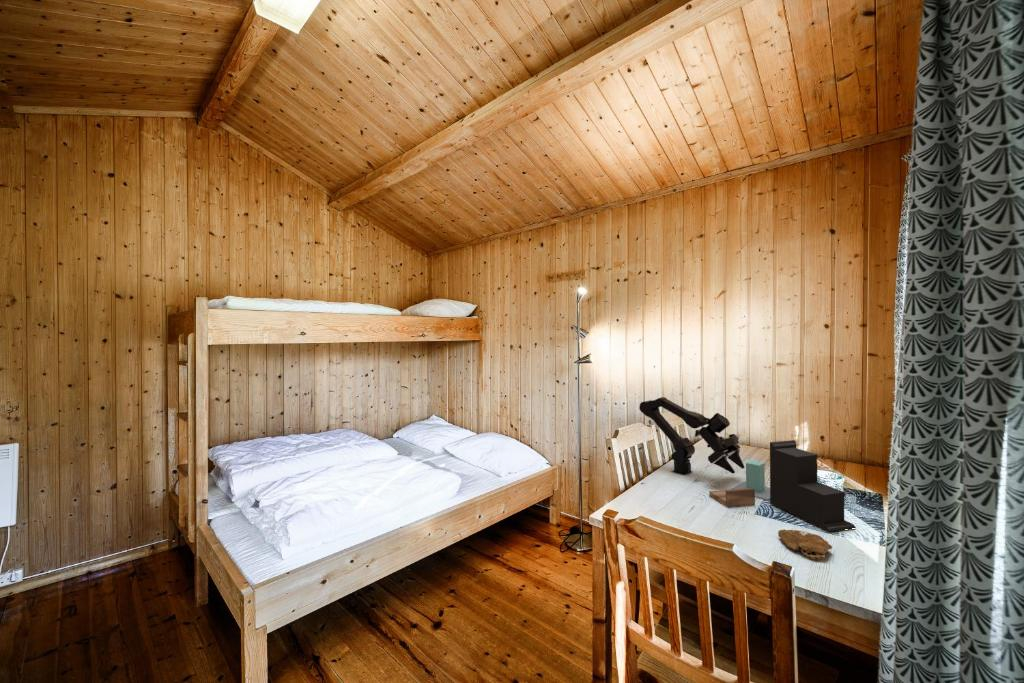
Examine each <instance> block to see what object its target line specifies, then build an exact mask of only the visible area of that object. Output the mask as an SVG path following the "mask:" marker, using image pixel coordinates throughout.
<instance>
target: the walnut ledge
mask: <svg viewBox="0 0 1024 683" xmlns="http://www.w3.org/2000/svg"><path fill="white" fill-rule="evenodd" d="M709 498H711V499H713V500H715V501H716V502H718V503H720V504H722V505H723V506H725V507H726V508H739V507H747V506H748V507H749V506H750V505H751V506H756V497H755V489H754V488H746V489H732V488H730V489H722V490H710V491H709ZM751 506H750V507H751Z"/></svg>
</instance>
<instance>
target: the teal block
mask: <svg viewBox="0 0 1024 683" xmlns="http://www.w3.org/2000/svg"><path fill="white" fill-rule="evenodd" d="M765 475H766V474H765V462H762V461H761V462H760V461H757V460H751V459H750V460H749V461H747V462H745V482H746V488H754V489H755V492H757V493H761V492H763V491H764V490H765V486H766V480H765V479H766V478H765V477H766V476H765Z"/></svg>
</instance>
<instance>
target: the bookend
mask: <svg viewBox="0 0 1024 683" xmlns="http://www.w3.org/2000/svg"><path fill="white" fill-rule="evenodd" d="M818 458H819V455H818V454H816V453H813V452H810V451H807V450H803V449H801V448H797V441H796V440H793V439H790V440H779V441H778V440H777V441H770V442H769V487H770V500H769V504H770V505H772V506H775V507H776V508H779V509H781V510H783V511H784V512H786V511H787V513H789V514H790V513H791V515H792V514H793V516H794V515H795V516H794V517H796V516H798V517H800V518H801V519H800V518H799V519H800V520H802V519H804V520H806V521H805V522H807V521H808V522H807V523H809V522H810V523H812V524H811V525H813V524H814V525H813V526H815V525H816V526H815V527H817V526H818V527H817V528H819V527H820V528H819V529H821V528H822V529H821V530H823V529H824V530H823V531H825V530H826V531H825V532H827V531H828V532H827V533H829V532H831V533H834V532H833V531H838V532H840V531H839V530H845V529H852V528H857V526H855V524H853V523H852V522H850V521H847V520H846V519H845V497H846V491H842V490H839V489H837V488H835V487H831V486H830V485H827V484H824V483H822V482H819V481H818ZM798 517H797V518H798ZM804 520H803V521H804ZM810 523H809V524H810Z"/></svg>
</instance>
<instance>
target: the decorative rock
mask: <svg viewBox="0 0 1024 683" xmlns="http://www.w3.org/2000/svg"><path fill="white" fill-rule="evenodd" d="M777 534H778V538H780V540H781V542H783V543H784V544H785V545H786V546H787V547H788V548H790V549H792V550H793V551H799V552H801V553H802V554H803V555H805V556H806V557H808V558H809V559H810V560H816V561H817V560H823V559H824V558H825V557H826V553H828V551H829V550H831V549H832V550H833V546H832V545H831V544H830V543H829V542H828V541H827V540H825V539H824V538H823V537H822V536H821V535H818V534H815V533H811V532H808V531H803V530H796V529H794V530H793V529H780V530H778V531H777Z"/></svg>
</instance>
